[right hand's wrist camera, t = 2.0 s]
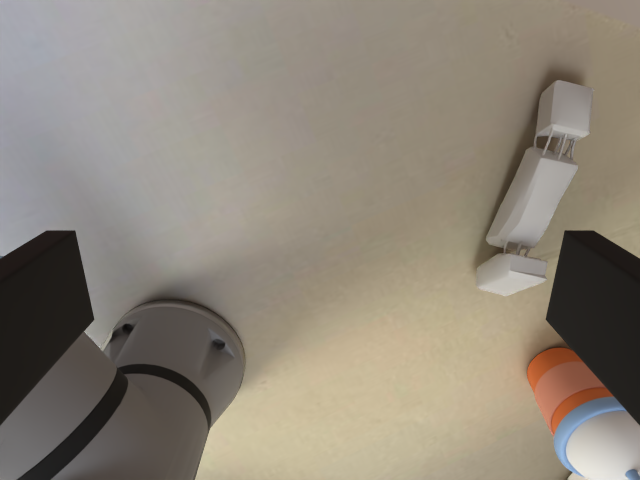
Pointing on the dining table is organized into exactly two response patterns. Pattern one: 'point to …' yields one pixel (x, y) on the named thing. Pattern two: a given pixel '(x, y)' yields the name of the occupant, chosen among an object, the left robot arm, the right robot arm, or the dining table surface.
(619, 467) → the cup with straw
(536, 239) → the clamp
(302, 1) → the dining table surface
